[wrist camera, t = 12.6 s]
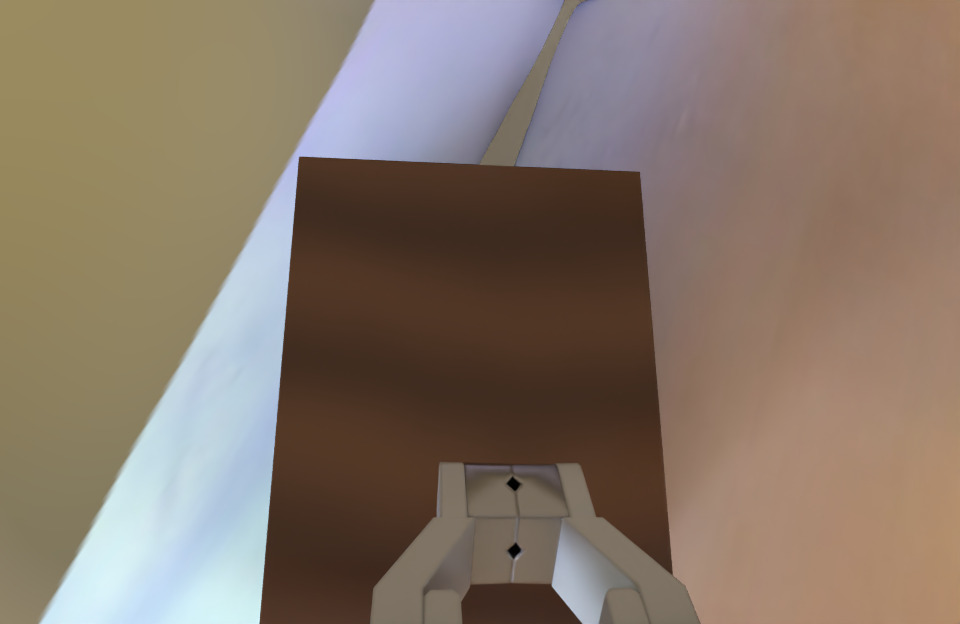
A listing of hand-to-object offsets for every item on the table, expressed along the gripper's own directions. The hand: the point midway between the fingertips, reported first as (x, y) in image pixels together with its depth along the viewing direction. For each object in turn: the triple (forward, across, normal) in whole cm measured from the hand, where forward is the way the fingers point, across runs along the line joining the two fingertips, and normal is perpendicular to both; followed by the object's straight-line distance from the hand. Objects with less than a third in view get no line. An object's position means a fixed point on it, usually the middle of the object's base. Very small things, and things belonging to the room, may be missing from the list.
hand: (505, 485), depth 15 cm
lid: (+9, 0, +3) cm, 9 cm away
